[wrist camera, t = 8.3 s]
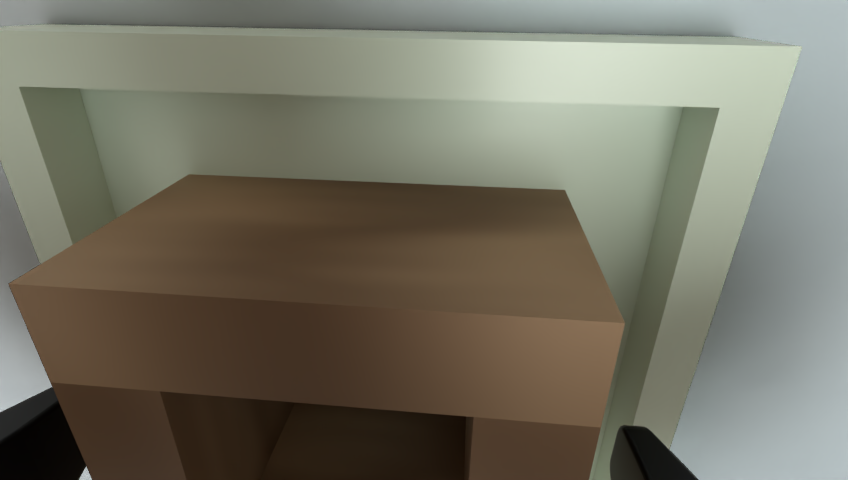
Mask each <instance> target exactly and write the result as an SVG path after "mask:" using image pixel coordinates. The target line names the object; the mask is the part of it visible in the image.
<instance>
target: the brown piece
mask: <svg viewBox="0 0 848 480" xmlns="http://www.w3.org/2000/svg"><path fill="white" fill-rule="evenodd" d="M9 287H10V289H11V291H12V294H13V296H14V298H15V301H16V303H17V305H18V308H19V310H20V312H21V315H22V317H23V319H24V322H25V324H26V326H27V329H28V331H29V333H30V336H31V338H32V340H33V343H34V345H35V347H36V350H37V352H38V354H39V357H40V359H41V361H42V364H43V366H44V368H45V371H46V373H47V375H48V378H49V380H50V382H51V385H52V387H53V389H54V392H55V394H56V396H57V399H58V401H59V403H60V406H61V408H62V410H63V413H64V415H65V417H66V420H67V422H68V424H69V427H70V429H71V431H72V434H73V436H74V438H75V440H76V443H77V445H78V447H79V450H80V452H81V454H82V457H83V459H84V461H85V464H86V466H87V468H88V471H89V473H90V475H91V478H92V480H589V477H590V473H591V469H592V464H593V460H594V456H595V451H596V447H597V443H598V438H599V434H600V430H601V425H602V421H603V417H604V412H605V408H606V404H607V399H608V395H609V391H610V386H611V382H612V378H613V373H614V369H615V365H616V360H617V356H618V352H619V347H620V343H621V339H622V334H623V330H624V326H625V322H624V320H623V318H622V315H621V313H620V311H619V309H618V307H617V304H616V302H615V300H614V298H613V295H612V293H611V291H610V289H609V287H608V284H607V282H606V280H605V278H604V275H603V273H602V271H601V269H600V267H599V264H598V262H597V260H596V258H595V255H594V253H593V251H592V249H591V247H590V244H589V242H588V240H587V238H586V235H585V233H584V231H583V229H582V227H581V224H580V222H579V220H578V218H577V215H576V213H575V211H574V209H573V207H572V204H571V202H570V200H569V198H568V196H567V193H566V191H565V190H553V189H529V188H506V187H482V186H458V185H434V184H410V183H386V182H362V181H338V180H314V179H290V178H266V177H242V176H218V175H194V174H188V175H187V176H185V177H184V178H182V179H180V180H179V181H177V182H175V183H174V184H172V185H170V186H169V187H167V188H165V189H164V190H162V191H160V192H159V193H157V194H156V195H154V196H152V197H151V198H149V199H147V200H146V201H144V202H142V203H141V204H139V205H137V206H136V207H134V208H132V209H131V210H129V211H128V212H126V213H124V214H123V215H121V216H119V217H118V218H116V219H114V220H113V221H111V222H109V223H108V224H106V225H104V226H103V227H101V228H100V229H98V230H96V231H95V232H93V233H91V234H90V235H88V236H86V237H85V238H83V239H81V240H80V241H78V242H76V243H75V244H73V245H71V246H70V247H68V248H67V249H65V250H63V251H62V252H60V253H58V254H57V255H55V256H53V257H52V258H50V259H48V260H47V261H45V262H43V263H42V264H40V265H39V266H37V267H35V268H34V269H32V270H30V271H29V272H27V273H25V274H24V275H22V276H20V277H19V278H17V279H15V280H14V281H12V282H11V283H9Z"/></svg>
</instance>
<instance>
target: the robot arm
mask: <svg viewBox="0 0 848 480" xmlns="http://www.w3.org/2000/svg"><path fill="white" fill-rule="evenodd" d="M85 467H86V464H85V461H84V459H83V457H82V454H81V452H80V450H79V447H78V445H77V443H76V440H75V438H74V436H73V434H72V431H71V429H70V427H69V424H68V422H67V420H66V417H65V415H64V413H63V410H62V408H61V406H60V403H59V401H58V399H57V396H56V394H55V392H54V389H53V387H51V388H49V389H47V390H45V391H43V392H41V393H39V394H37V395H35V396H33V397H31V398H29V399H27V400H25V401H23V402H21V403H19V404H17V405H15V406H12V407H10V408H8V409H6V410H4V411H2V412H0V480H79V478H80V476H81V474H82V473H83V471H84V469H85ZM610 477H611V480H698V479H697V478H696V476H695V475H694V474H693V473H692V472H691V471H690V470H689V469H688V468H687V467H686V466H685V465H684V464H683V463H682V462H681V461H680V460H679V459H678V458H677V457H676V456H675V455H674V454H673V453H672V452H671V451H670V450H669V449H668V448H667V447H666V446H665V445H664V444H663V443H662V442H661V440H660V439H659V438H658V437H657V436H656V435H655V434H654V433H653V432H652V431H651V430H649V429H648V428H646V427H643V426H632V425H622V426H620V428H619V429H618V432H617V435H616V439H615V443H614V447H613V451H612V455H611V459H610Z"/></svg>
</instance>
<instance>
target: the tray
mask: <svg viewBox="0 0 848 480" xmlns="http://www.w3.org/2000/svg"><path fill="white" fill-rule="evenodd" d="M801 49H802V46H795V45H788V44H782V43H775V42H768V41H762V40H755V39H748V38H741V37H721V36H667V35H614V34H560V33H506V32H452V31H398V30H344V29H291V28H237V27H183V26H129V25H75V24H36V25H19V26H2V27H0V161H1V164H2V166H3V169H4V172H5V174H6V177H7V179H8V182H9V185H10V187H11V190H12V193H13V195H14V198H15V200H16V203H17V206H18V208H19V211H20V213H21V216H22V219H23V221H24V224H25V226H26V229H27V232H28V234H29V237H30V239H31V242H32V245H33V247H34V250H35V252H36V255H37V258H38V260H39V263H40V264H42V263H43V262H45V261H47V260H48V259H50V258H52V257H53V256H55V255H57V254H58V253H60V252H62V251H63V250H65V249H67V248H68V247H70V246H71V245H73V244H75V243H76V242H78V241H80V240H81V239H83V238H85V237H86V236H88V235H90V234H91V233H93V232H95V231H96V230H98V229H100V228H101V227H103V226H104V225H106V224H108V223H109V222H111V221H113V220H114V219H116V218H118V217H119V216H121V215H123V214H124V213H126V212H128V211H129V210H131V209H132V208H134V207H136V206H137V205H139V204H141V203H142V202H144V201H146V200H147V199H149V198H151V197H152V196H154V195H156V194H157V193H159V192H160V191H162V190H164V189H165V188H167V187H169V186H170V185H172V184H174V183H175V182H177V181H179V180H180V179H182V178H184V177H185V176H187V175H188V174H194V175H218V176H242V177H266V178H290V179H314V180H338V181H362V182H386V183H410V184H434V185H458V186H482V187H506V188H529V189H553V190H565V191H566V193H567V196H568V198H569V200H570V202H571V204H572V207H573V209H574V211H575V213H576V215H577V218H578V220H579V222H580V224H581V227H582V229H583V231H584V233H585V235H586V238H587V240H588V242H589V244H590V247H591V249H592V251H593V253H594V255H595V258H596V260H597V262H598V264H599V267H600V269H601V271H602V273H603V275H604V278H605V280H606V282H607V284H608V287H609V289H610V291H611V293H612V295H613V298H614V300H615V302H616V304H617V307H618V309H619V311H620V313H621V315H622V318H623V320H624V322H625V326H624V330H623V334H622V339H621V343H620V347H619V352H618V356H617V360H616V365H615V369H614V373H613V378H612V382H611V386H610V391H609V395H608V399H607V404H606V408H605V412H604V417H603V421H602V425H601V430H600V434H599V438H598V443H597V447H596V451H595V456H594V460H593V464H592V469H591V473H590V477H589V480H611V477H610V459H611V455H612V451H613V447H614V443H615V439H616V435H617V432H618V429H619V428H620V426H622V425H632V426H643V427H646V428H648V429H649V430H651V431H652V432H653V433H654V434H655V435H656V436H657V437H658V438H659V439H660V440H661V442H662V443H663V444H664V445H665V446H666V447H667V448H668V449H670V446H671V443H672V440H673V437H674V434H675V431H676V428H677V425H678V422H679V419H680V416H681V413H682V410H683V407H684V404H685V400H686V397H687V394H688V391H689V388H690V385H691V382H692V379H693V376H694V373H695V370H696V367H697V364H698V361H699V358H700V355H701V352H702V349H703V346H704V343H705V340H706V337H707V334H708V331H709V328H710V325H711V322H712V319H713V316H714V313H715V310H716V307H717V303H718V300H719V297H720V294H721V291H722V288H723V285H724V282H725V279H726V276H727V273H728V270H729V267H730V264H731V261H732V258H733V255H734V252H735V249H736V246H737V243H738V240H739V237H740V234H741V231H742V228H743V225H744V222H745V219H746V216H747V213H748V210H749V206H750V203H751V200H752V197H753V194H754V191H755V188H756V185H757V182H758V179H759V176H760V173H761V170H762V167H763V164H764V161H765V158H766V155H767V152H768V149H769V146H770V143H771V140H772V137H773V134H774V131H775V128H776V125H777V122H778V119H779V116H780V113H781V110H782V106H783V103H784V100H785V97H786V94H787V91H788V88H789V85H790V82H791V79H792V76H793V73H794V70H795V67H796V64H797V61H798V58H799V55H800V52H801Z"/></svg>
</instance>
